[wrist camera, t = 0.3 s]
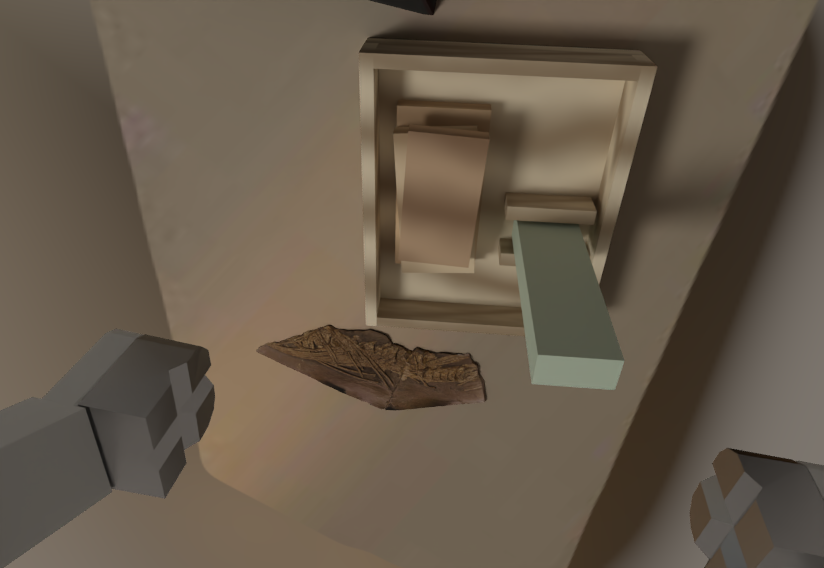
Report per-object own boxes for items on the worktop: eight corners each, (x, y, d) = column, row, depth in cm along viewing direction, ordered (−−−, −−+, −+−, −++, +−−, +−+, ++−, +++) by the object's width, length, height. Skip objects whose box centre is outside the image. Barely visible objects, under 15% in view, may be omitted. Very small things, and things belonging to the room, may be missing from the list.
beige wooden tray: (367, 37, 42) (358, 52, 39) (640, 50, 41) (657, 66, 38) (372, 296, 56) (365, 325, 52) (576, 309, 55) (584, 340, 52)
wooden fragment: (504, 360, 60) (504, 367, 59) (471, 426, 66) (471, 433, 66) (265, 299, 58) (261, 305, 57) (254, 373, 64) (251, 380, 63)
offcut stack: (397, 99, 43) (391, 118, 40) (490, 104, 43) (493, 123, 39) (395, 254, 51) (390, 281, 48) (474, 259, 51) (474, 286, 48)
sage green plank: (515, 210, 48) (537, 354, 33) (575, 213, 48) (624, 360, 33) (511, 234, 49) (531, 383, 35) (569, 238, 49) (614, 389, 34)
